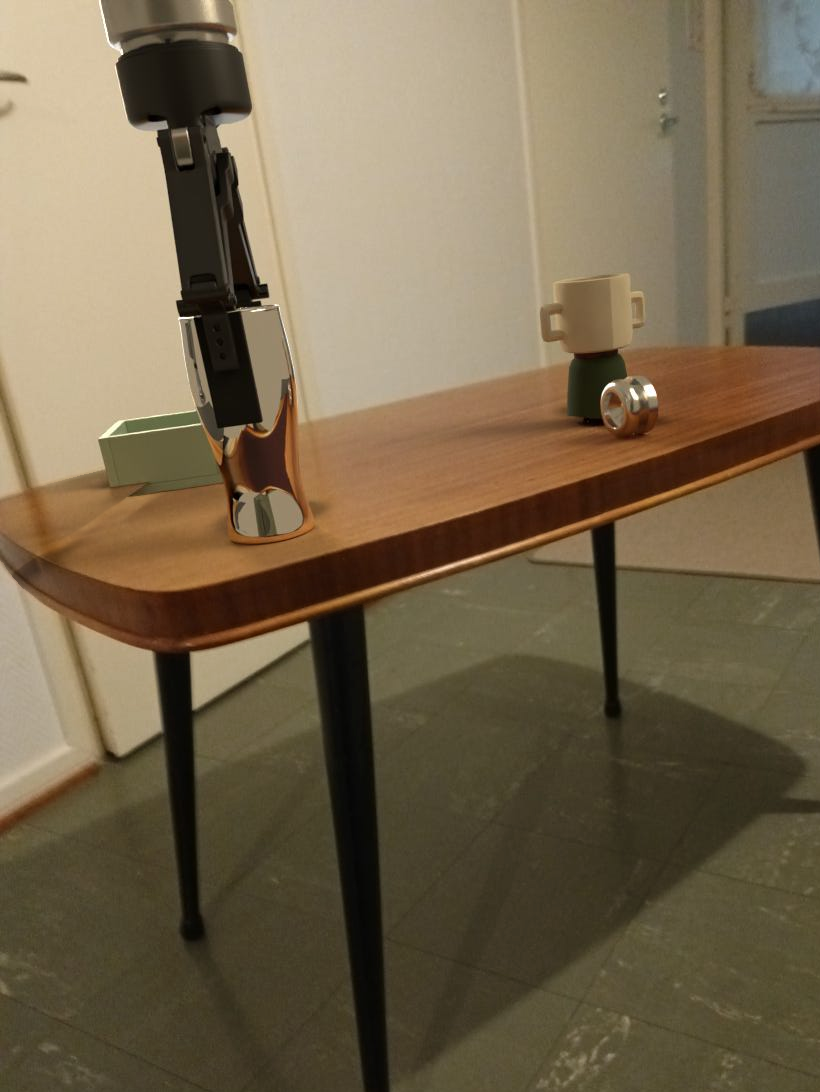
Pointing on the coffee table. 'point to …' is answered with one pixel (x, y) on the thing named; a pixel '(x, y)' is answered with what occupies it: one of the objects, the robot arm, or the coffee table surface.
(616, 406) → the metal grooved wheel
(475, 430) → the coffee table surface
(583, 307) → the character mug
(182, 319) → the beer glass
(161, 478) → the green storage bin
